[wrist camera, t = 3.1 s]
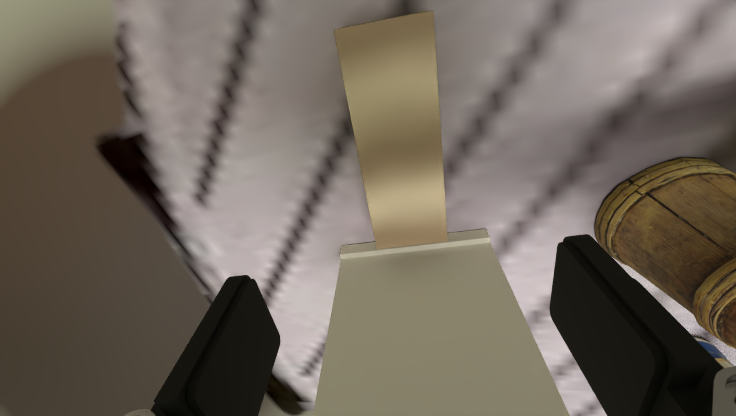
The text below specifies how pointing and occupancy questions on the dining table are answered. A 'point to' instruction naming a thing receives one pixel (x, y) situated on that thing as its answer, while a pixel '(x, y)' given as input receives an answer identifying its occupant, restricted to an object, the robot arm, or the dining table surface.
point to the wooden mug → (679, 236)
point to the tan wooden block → (397, 125)
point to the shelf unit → (431, 336)
